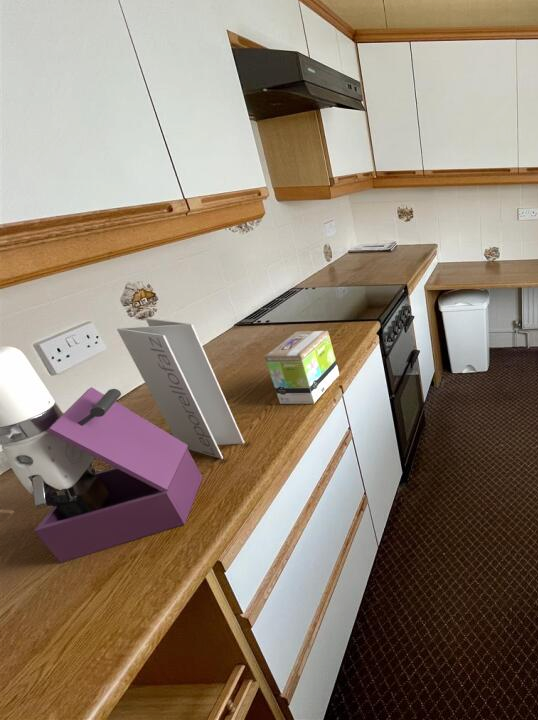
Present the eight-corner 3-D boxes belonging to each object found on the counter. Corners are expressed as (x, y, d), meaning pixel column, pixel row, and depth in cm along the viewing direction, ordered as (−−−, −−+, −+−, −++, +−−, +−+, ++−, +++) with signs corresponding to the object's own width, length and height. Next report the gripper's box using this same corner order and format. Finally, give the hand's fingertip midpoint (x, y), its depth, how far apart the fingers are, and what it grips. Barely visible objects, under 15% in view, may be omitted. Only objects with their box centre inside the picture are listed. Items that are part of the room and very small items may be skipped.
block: (98, 511, 71) (85, 492, 69) (66, 520, 69) (51, 502, 67) (109, 493, 74) (97, 475, 73) (79, 502, 73) (66, 483, 71)
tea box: (316, 404, 106) (300, 354, 100) (279, 405, 107) (261, 355, 100) (341, 374, 120) (328, 329, 113) (308, 375, 120) (293, 330, 114)
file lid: (45, 431, 60) (74, 410, 60) (87, 389, 71) (112, 371, 71) (163, 492, 70) (188, 473, 70) (184, 447, 80) (206, 431, 81)
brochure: (179, 446, 94) (116, 328, 81) (202, 431, 98) (146, 318, 85) (222, 458, 89) (162, 335, 76) (244, 442, 94) (192, 324, 81)
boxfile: (60, 563, 68) (33, 530, 64) (96, 507, 78) (75, 477, 75) (184, 524, 73) (166, 492, 70) (202, 477, 84) (187, 448, 81)
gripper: (26, 448, 58) (91, 535, 66) (85, 390, 72) (133, 468, 80) (-46, 465, 56) (31, 554, 63) (30, 401, 70) (85, 480, 78)
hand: (87, 505), depth 72 cm, fingers closed on block, 4 cm apart
